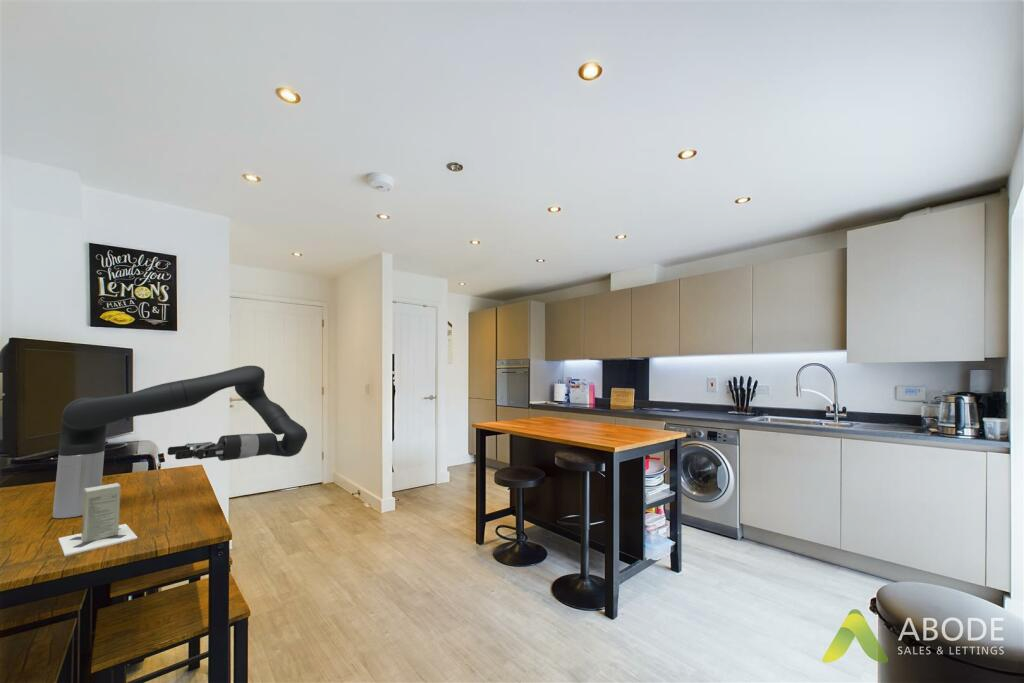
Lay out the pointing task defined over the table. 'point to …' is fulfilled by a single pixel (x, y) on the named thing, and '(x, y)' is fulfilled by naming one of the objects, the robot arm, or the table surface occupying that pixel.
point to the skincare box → (100, 512)
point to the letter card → (76, 545)
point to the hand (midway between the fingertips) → (171, 453)
